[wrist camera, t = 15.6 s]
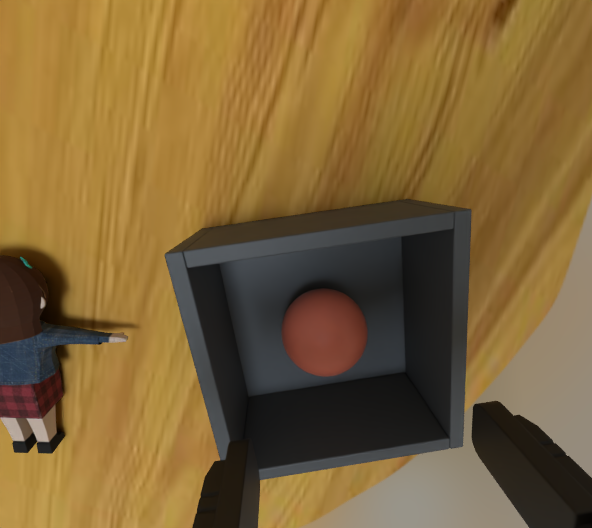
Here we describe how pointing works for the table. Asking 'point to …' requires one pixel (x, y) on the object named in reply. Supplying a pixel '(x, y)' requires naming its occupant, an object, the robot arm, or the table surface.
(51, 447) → the toy
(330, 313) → the toy ball
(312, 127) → the table surface
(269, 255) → the bin
